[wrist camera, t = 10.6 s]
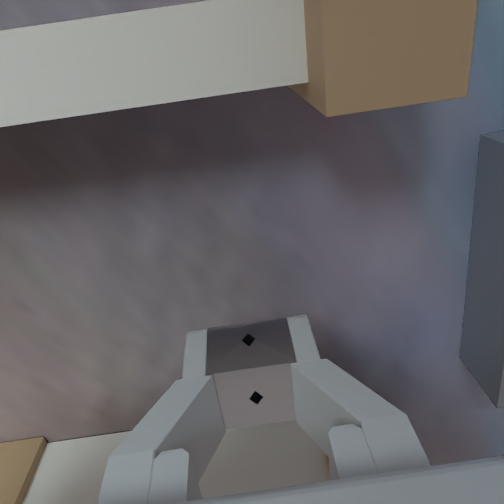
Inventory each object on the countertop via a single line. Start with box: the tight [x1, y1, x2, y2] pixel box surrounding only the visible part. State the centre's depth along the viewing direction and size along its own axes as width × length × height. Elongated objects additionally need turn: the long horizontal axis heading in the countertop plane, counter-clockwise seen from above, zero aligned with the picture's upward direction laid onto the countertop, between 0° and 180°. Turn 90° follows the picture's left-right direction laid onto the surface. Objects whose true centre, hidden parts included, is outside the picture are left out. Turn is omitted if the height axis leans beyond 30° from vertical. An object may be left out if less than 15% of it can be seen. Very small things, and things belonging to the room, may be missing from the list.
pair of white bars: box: [0, 0, 478, 504], centre depth 12 cm, size 17×16×5 cm
